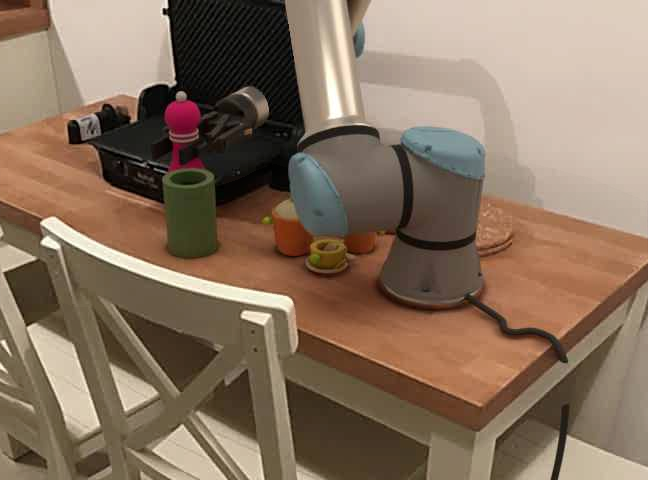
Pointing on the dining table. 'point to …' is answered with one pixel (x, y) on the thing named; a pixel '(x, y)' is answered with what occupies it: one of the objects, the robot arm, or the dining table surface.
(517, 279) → the dining table surface
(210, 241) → the green cylindrical container
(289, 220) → the toy tea set
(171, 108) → the pepper mill
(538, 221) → the dining table surface
